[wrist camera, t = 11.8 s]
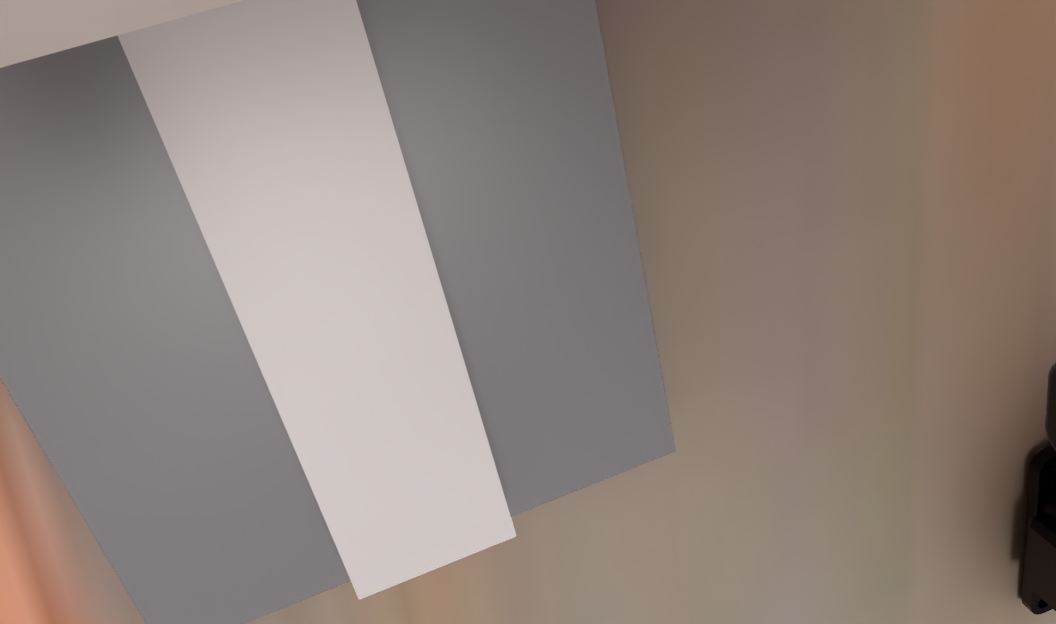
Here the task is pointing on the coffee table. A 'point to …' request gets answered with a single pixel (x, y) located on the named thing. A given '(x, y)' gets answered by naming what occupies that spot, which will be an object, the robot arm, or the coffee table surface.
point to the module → (81, 22)
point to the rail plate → (322, 290)
